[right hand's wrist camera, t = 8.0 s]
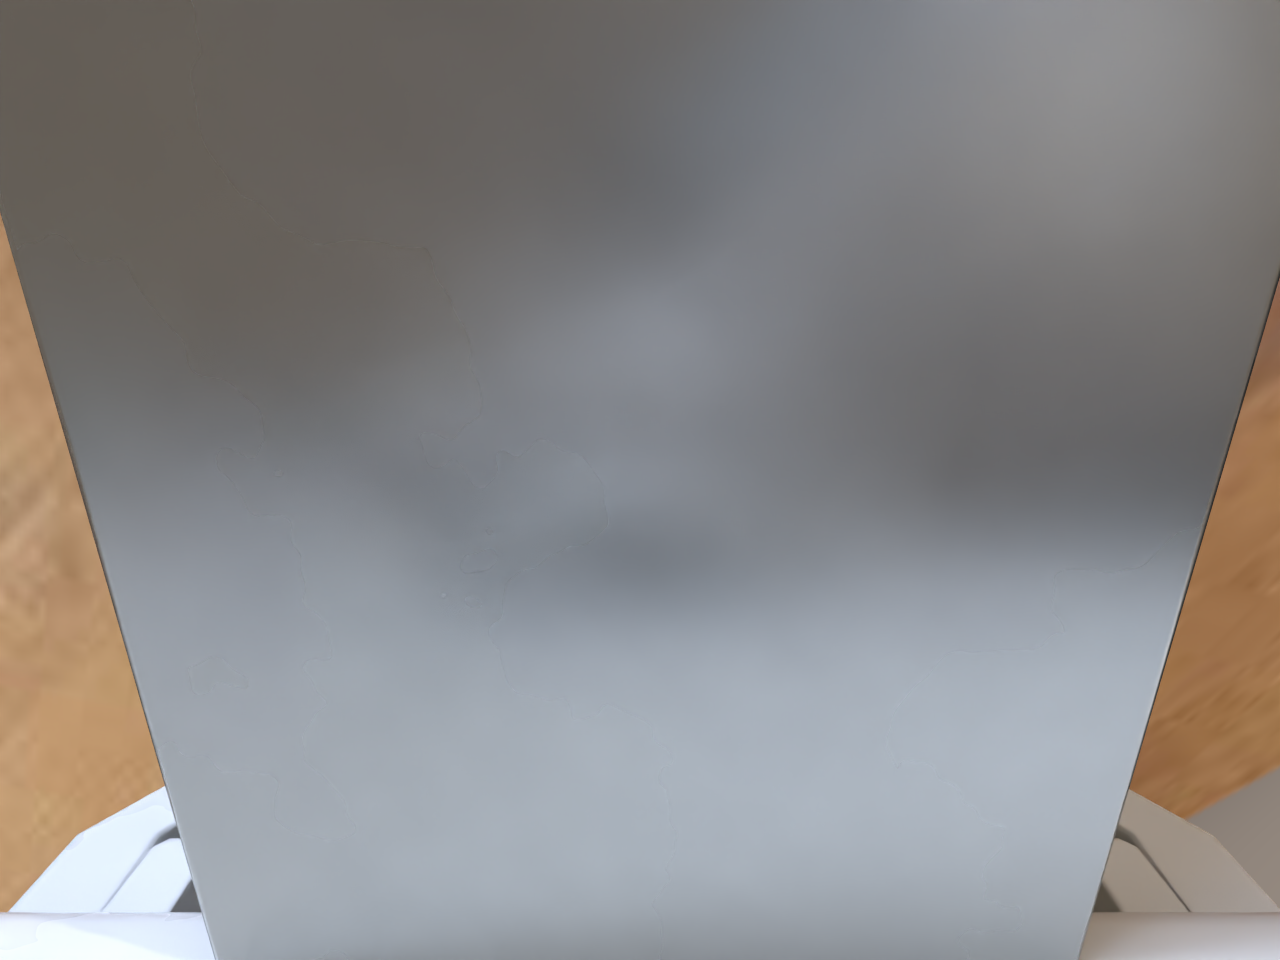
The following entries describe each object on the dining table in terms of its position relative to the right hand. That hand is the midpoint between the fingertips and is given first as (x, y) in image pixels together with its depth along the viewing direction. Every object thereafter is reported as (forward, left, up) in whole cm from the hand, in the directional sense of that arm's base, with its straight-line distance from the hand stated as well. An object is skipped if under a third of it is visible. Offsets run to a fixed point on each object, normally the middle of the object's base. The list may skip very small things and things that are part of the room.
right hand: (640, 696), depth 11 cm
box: (-10, +3, -3) cm, 11 cm away
